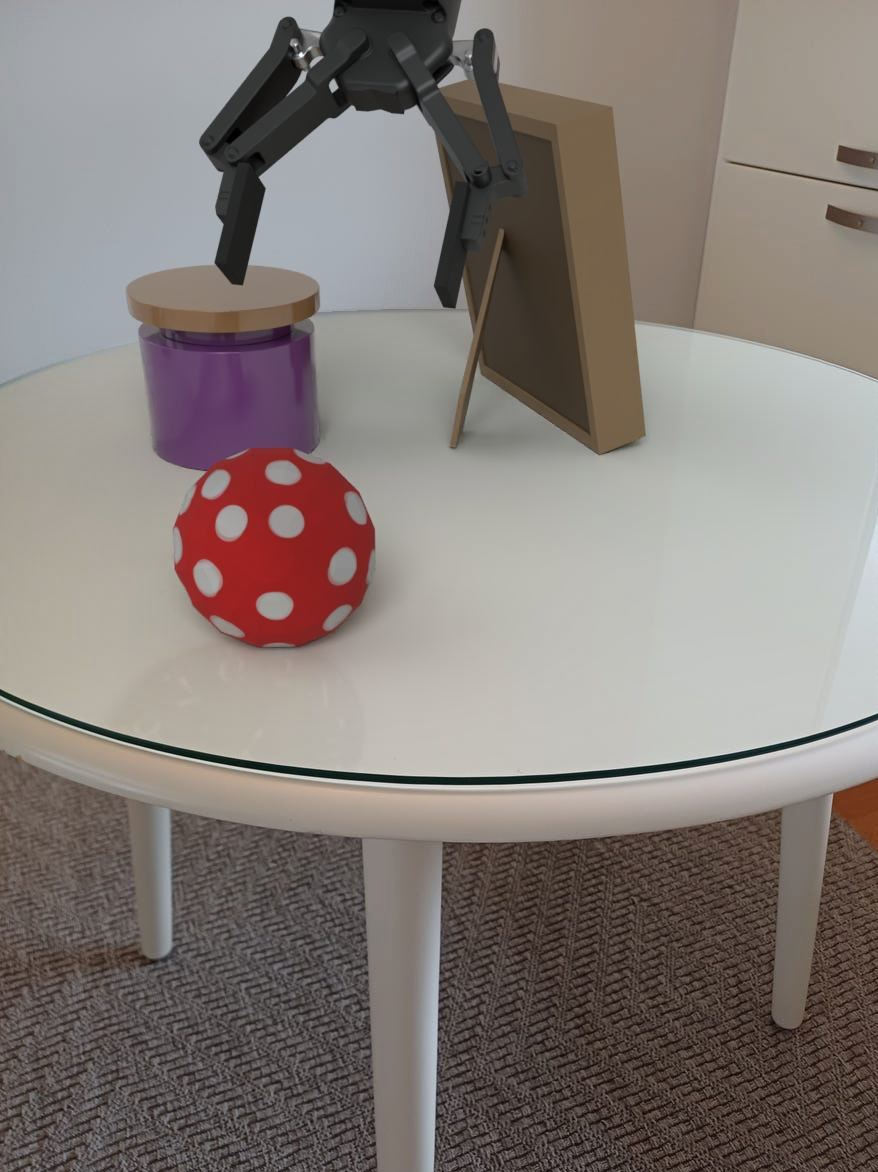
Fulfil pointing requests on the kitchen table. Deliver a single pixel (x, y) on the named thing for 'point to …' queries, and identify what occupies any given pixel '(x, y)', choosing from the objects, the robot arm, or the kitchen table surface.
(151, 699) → the kitchen table surface
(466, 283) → the photo frame
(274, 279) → the jar
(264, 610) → the red polka-dot ball
